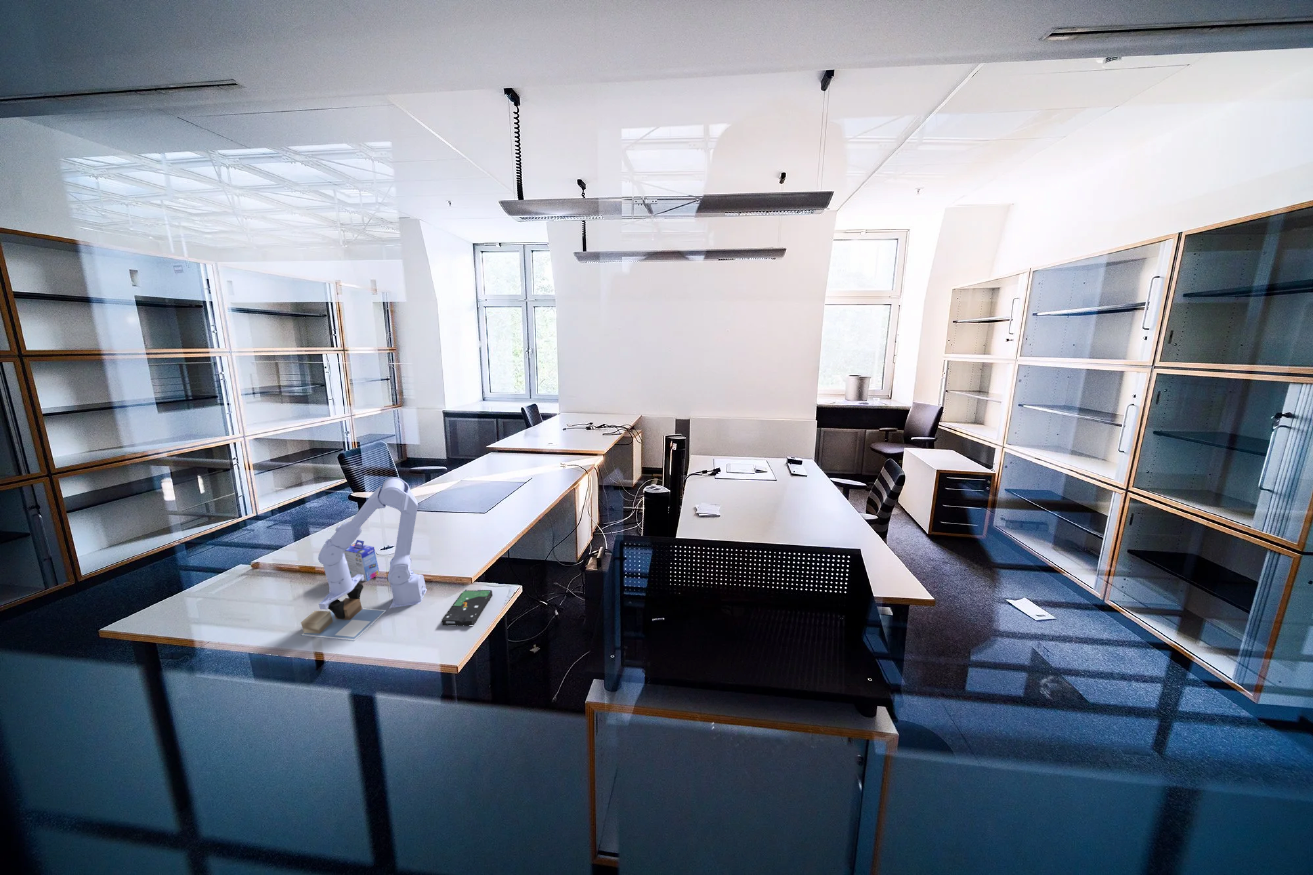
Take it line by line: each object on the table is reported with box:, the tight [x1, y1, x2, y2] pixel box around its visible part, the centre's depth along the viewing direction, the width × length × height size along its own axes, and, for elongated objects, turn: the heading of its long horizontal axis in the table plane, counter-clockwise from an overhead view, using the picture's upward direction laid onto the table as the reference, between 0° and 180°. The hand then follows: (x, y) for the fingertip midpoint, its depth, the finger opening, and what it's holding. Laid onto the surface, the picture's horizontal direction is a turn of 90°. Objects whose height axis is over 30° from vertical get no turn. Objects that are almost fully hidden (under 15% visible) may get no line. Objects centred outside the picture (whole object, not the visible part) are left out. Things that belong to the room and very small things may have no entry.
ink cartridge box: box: [343, 539, 380, 582], centre depth 147 cm, size 10×6×14 cm, turn 74°
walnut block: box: [334, 597, 363, 620], centre depth 129 cm, size 5×5×4 cm
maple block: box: [300, 610, 333, 634], centre depth 124 cm, size 5×5×4 cm
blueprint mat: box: [300, 607, 388, 642], centre depth 126 cm, size 18×13×1 cm
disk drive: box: [441, 589, 493, 627], centre depth 133 cm, size 10×3×15 cm
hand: (348, 611), depth 130 cm, fingers closed on walnut block, 5 cm apart
